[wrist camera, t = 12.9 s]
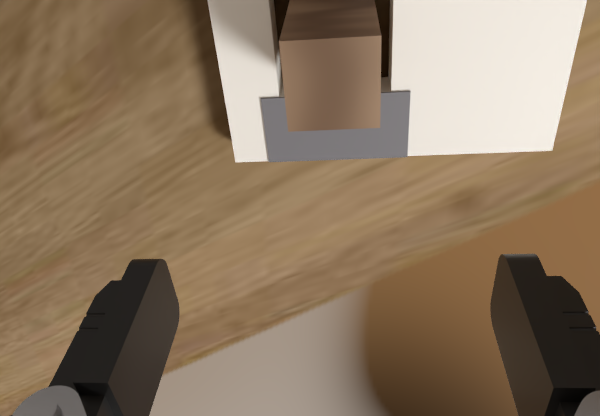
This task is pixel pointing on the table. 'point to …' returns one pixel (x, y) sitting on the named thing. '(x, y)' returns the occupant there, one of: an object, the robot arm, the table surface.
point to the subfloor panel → (413, 80)
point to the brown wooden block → (331, 65)
